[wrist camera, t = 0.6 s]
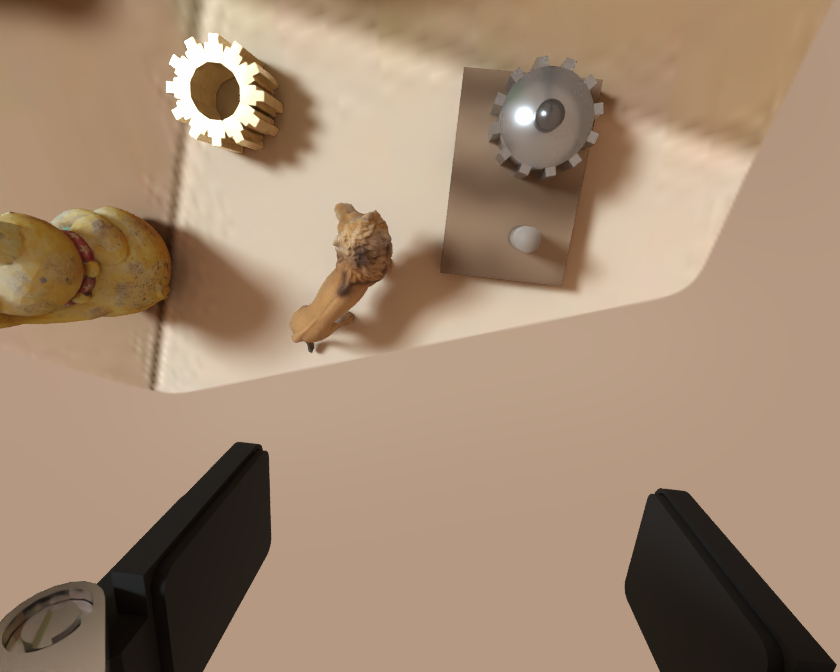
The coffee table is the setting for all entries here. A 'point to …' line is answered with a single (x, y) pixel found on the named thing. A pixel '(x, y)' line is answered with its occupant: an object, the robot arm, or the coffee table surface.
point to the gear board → (505, 199)
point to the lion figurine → (346, 274)
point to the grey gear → (544, 119)
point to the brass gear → (203, 83)
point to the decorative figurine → (79, 266)
